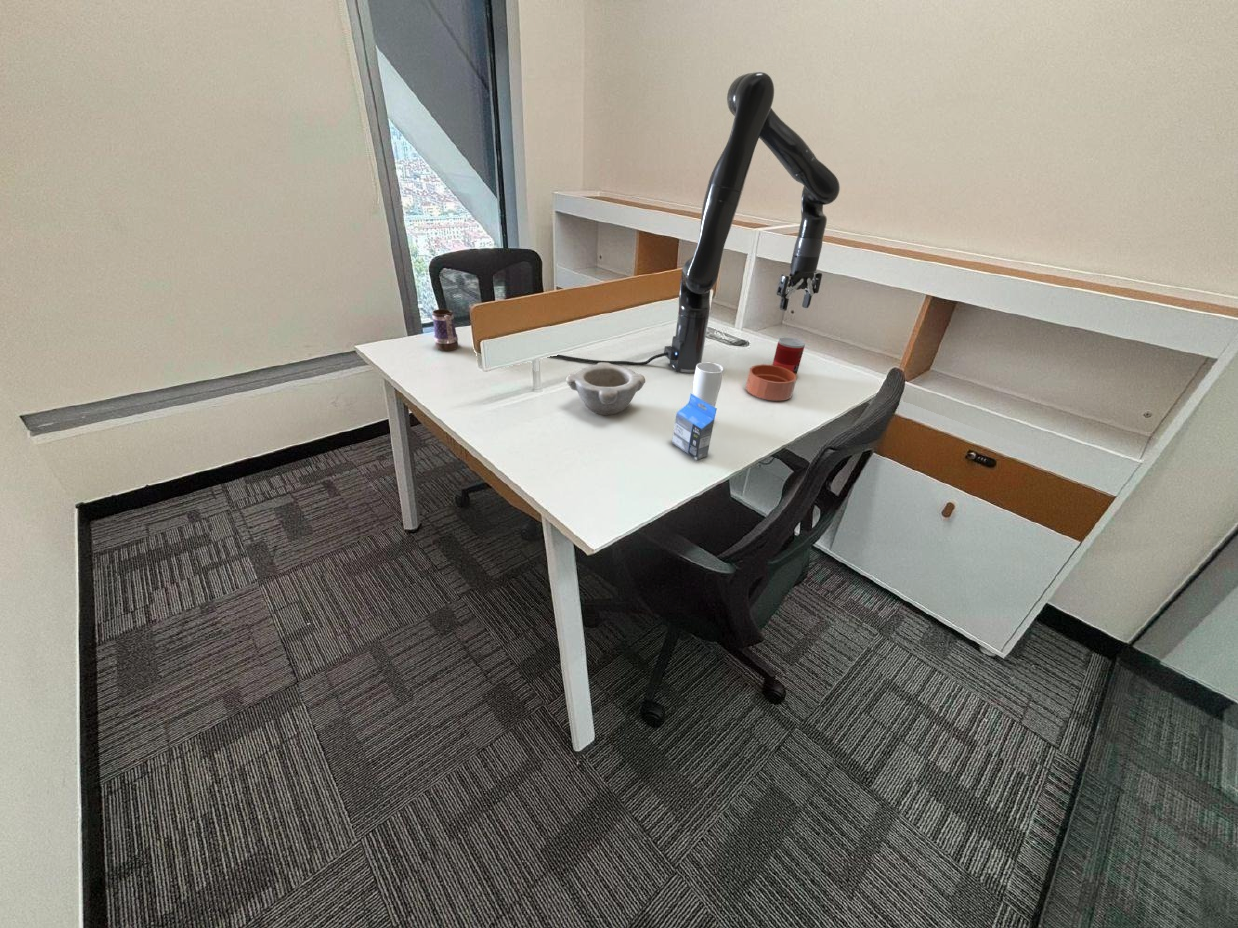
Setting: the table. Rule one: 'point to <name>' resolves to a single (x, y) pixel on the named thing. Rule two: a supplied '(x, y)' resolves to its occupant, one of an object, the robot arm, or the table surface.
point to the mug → (444, 330)
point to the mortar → (606, 387)
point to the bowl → (771, 382)
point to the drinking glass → (707, 382)
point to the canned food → (789, 353)
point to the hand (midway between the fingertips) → (794, 308)
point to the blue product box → (694, 427)
